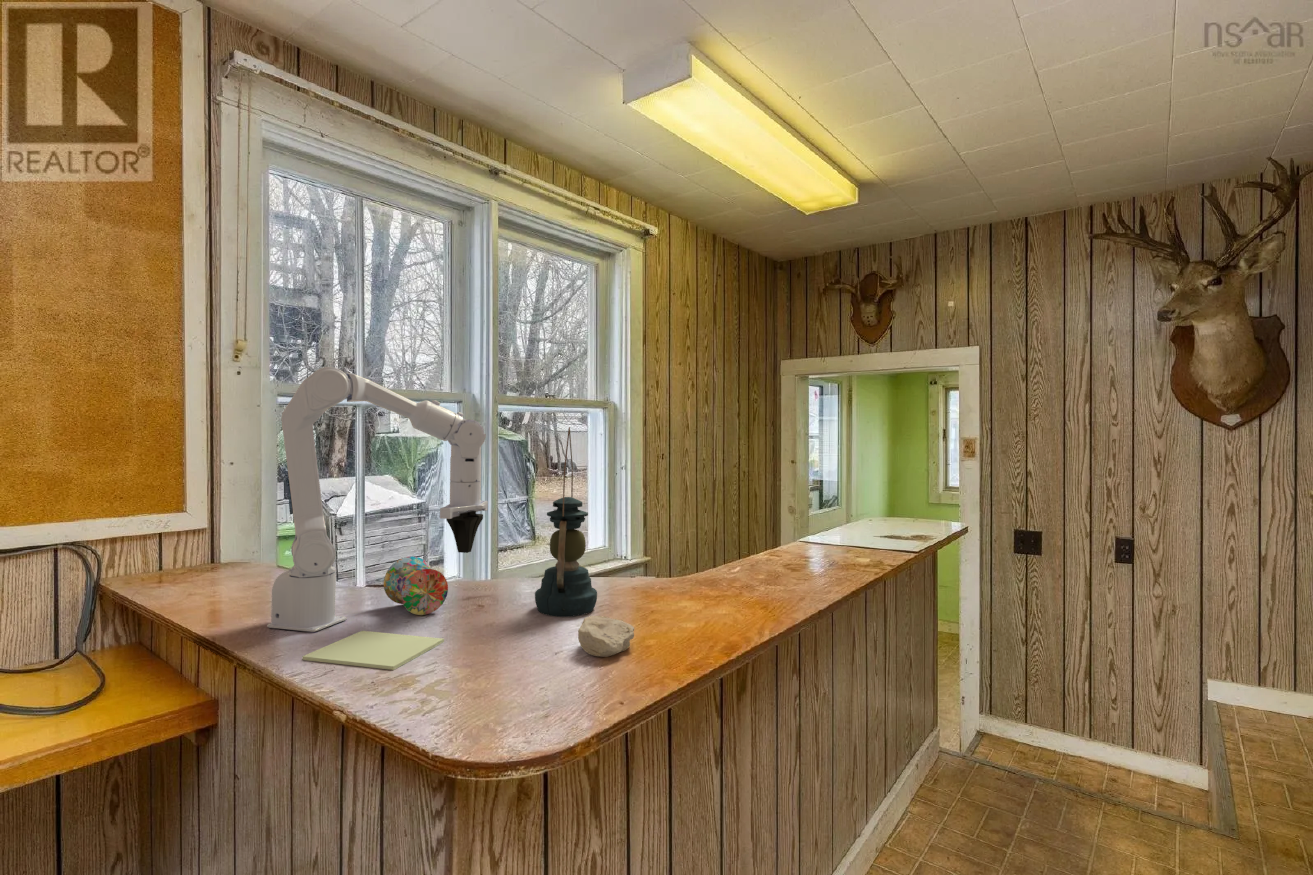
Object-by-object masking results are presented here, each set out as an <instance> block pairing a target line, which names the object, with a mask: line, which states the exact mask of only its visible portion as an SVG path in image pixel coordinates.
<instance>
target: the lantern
mask: <svg viewBox="0 0 1313 875" xmlns="http://www.w3.org/2000/svg"><path fill="white" fill-rule="evenodd" d="M566 439H567V441H566V449H565V458H564V466H563V467H564V468H563V482H562V483H563V486H562V490H563V491H562V497H560V498H559V499H556V500H554V501H553V502H552V507H553V508H556V509H554V510H551V511H548V512H546V516H548V517H549V521H550V523H553V527H554V528H555V529H557V530H556V531H554V532H553V533H552V534H551V536H550V540H549V551H550V555H551V556H552V557H553V558H554V559H555V560H557V562H556V563H555V565H554V566H551V567H548V568H546V569H545V570H544V575H543V577H542V579H541V584H540V587H539V588H537V590H535V592H534V602H535V606H536V608H537V612H539V613H540V614H542V615H546V616H550V617H560V618H561V617H562V618H564V617H566V618H567V617H569V618H570V617H578V616H583V615H587V614H589V613H591V612H593V610H594V609H595V606H596V604H597V602H598V601H597V599H598V591H597V589H596V588H594V587H593V585H592V578H591V576H590V574H589V569H588V568H586V567H583V566H580V563H579V562H578V560H579V559H581V558H582V557H583V556H584V554H585V552H586V548H587V547H586V537H585V534H584V533H583V531H581V530H578V529H579V528H581V526H582V523H584V522H585V521H586V517H588V516H589V512H587V511H584V510H581V509H579V508H581V507H583V501H581V500H579V499H577V498H574V497H573V495H574V490H573V485H574V484H573V483H574V481H573V479H574V471H573V470H574V469H573V468H574V466H573V451H572V440H571V439H572V438H571V427H570V426H569V427H568V429H567V438H566ZM568 448H569V449H570V464H571V466H570V467H571V486H570V487H571V492H570V493H571V494H570V495H571V496H565V494H566V493H565V488H566V486H565V485H566V484H565V483H566V468H567V465H566V464H567V460H568V458H567V456H568Z"/></svg>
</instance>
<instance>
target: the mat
mask: <svg viewBox="0 0 1313 875" xmlns="http://www.w3.org/2000/svg"><path fill="white" fill-rule="evenodd" d="M444 642H445V638H441V637H431V636H420V635H411V634H410V635H409V634H399V633H391V632H390V633H389V632H378V631H368V630H360V631H358V632H355V633H354V634H351V635H349V636H347V637H344V638H342V639H340V640H337V641H335V642H333V643H330V644H328V645H326V646H323V647H321V648H318V649H316V650H313V651H312V652H310V653H307V654H305V655H303V656H302V660H303V661H310V662H318V663H327V664H328V663H329V664H336V665H346V666H352V667H353V666H355V667H363V668H364V667H365V668H373V669H381V670H382V669H383V670H388V671H389V670H391V671H394V670H396V669H398V668H400V667H401V666H403V665H405V664H407V663H409V662H411V661H413V659H416V658H418V657H420V656H421V655H423V654H425V653H427V652H429V651H430V650H432V649H435V647H437V646H439V645H440V644H444Z"/></svg>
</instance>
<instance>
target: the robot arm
mask: <svg viewBox="0 0 1313 875" xmlns="http://www.w3.org/2000/svg"><path fill="white" fill-rule="evenodd" d="M344 400H346V402H347V403H353V402H354V403H355V402H368V403H370V404H373V405H375V406H377V407H379V408H383V409H384V410H387V411H391V412H392V413H395V414H397V415H400V416H402V417H405V418H408V420H409V421H410V424H411V426H412V428H413V429H416V430H417V431H420V432H422V433H424V434H427V435H429V436H431V437H434V438H436V439H438V440H441V441H443V442H448V443H449V444H450V459H449V460H450V461H449V467H450V468H449V469H450V470H449V504H447V505H445V506H443V507H440V508H439V519H444V520H445V519H446V522H447V523H448V526H450V530H451V532H452V534H453V537H454V540H455V545H456V550H457V552H458V553H464V554H466V553H467V554H468V553H470V552H472V549H473V545H474V541H475V538H476V534H477V531H478V529H479V527H480V524H481V522H482V521H483V520H484V514H483V513H478V512H483V511H484V512H486V511H488V507H489V506H488V504H489V501H488V500H482V499H481V496H482V495H481V494H482V493H481V492H482V487H481V486H482V446H483V444H484V442H486V437H487V434H486V433H485V430H484V427H483V426H482V424H481V423H480V422H479V421H478V420H476V419H471V418H464V413H463V412H460V411H458V412H457V413H456V412H455V411H452V410H450V409H448V408H445V407H443V406H442V405H441V402H439V401H438V400H435V399H434V400H433V399H432V400H431V401H429V400H427V399H425V400H422V401H420V402H416V401H413V400H412V399H409V398H407V397H405V396H403V395H401V394H398V393H397V392H394V391H392V390H391V389H389V388H386V387H385V386H383V385H380V384H378V383H376V382H374V381H372V380H370V379H367V378H364V377H363V376H360V375H357V374H355V373H350V372H346V373H345V372H344V371H343V370H341V369H339V368H337V367H334V366H325V367H321V368H319V369H316V370H315V371H314V372H313V373H311V374H310V375H309V376H308V377H306V378H305V379H304V380H303V381H302V382H301V384H300V385H299V386H298V388H297V390H296V391H295V393H294V394H293V395H292V398H291V399H290V401H289V402H288V404H287V405H286V406H285V408H284V410H283V412H282V414H281V426H282V428H281V429H282V434H283V441H284V450H285V458H286V465H287V467H286V468H287V475H288V481H289V489H290V498H291V506H292V513H293V514H292V516H293V522H294V532H295V533H294V535H295V536H294V539H293V542H292V544H291V548H290V549H291V550H290V552H291V555H292V562H293V566H292V567H291V568H290V569H288V571H284V572H282V573H280V574H279V575H278V576H277V577H276V578H275V580H274V582H273V584H272V588H271V612H270V613H271V615H270V617H271V622H270V623H268V624H267V625H266V626H267V628H270V629H281V630H291V631H299V632H309V633H310V632H312V633H315V632H317V631H321V630H323V629H326V628H328V627H330V626H333V625H336V624H338V623H342V622H343V621H346V620H347V619H348V618H347V616H342V615H336V584H337V582H336V579H337V576H336V575H337V568H336V567H335V566H332V565H333V564H334V562H335V560H336V555H337V553H336V548H335V547H334V546H335V545H334V544H333V543H332V542H331V539H330V537H328V533H327V527H326V522H325V516H324V508H323V500H322V491H321V484H320V477H319V476H320V475H319V469H318V468H319V467H318V459H317V450H316V444H315V436H314V427H313V426H314V424H315V423H316V422H317V421H318V420H319V418H321V417H322V415H323V414H324V413H325V412H326V411H328V409H330V408H332V407H334V406H337V405H338V404H340V403H341V402H343V401H344ZM440 405H441V406H440Z"/></svg>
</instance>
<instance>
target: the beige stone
mask: <svg viewBox="0 0 1313 875" xmlns="http://www.w3.org/2000/svg"><path fill="white" fill-rule="evenodd" d="M634 631H635V626H633V625H632V624H630V623H628V622H625V621H623V620H622V619H621V620H620V619H617V618H611V617H608V616H605V615H604V616H602V615H589V616H586V617H584V619H583V621H582V623H581V625H580V628H578V630H577V632H578V634H577V636H578V639H577V640H578V643H579V644H580V647H581V648H582V649H583V651H585V652H586V653H587V654H589V655H590V656H595V657H600V658H601V657H602V658H607V657H610V656H614V655H616V654H618V653H620V652H624V651H626V650H627V649H628V648H629V647H630V646H631V643H630V642H631V640H632V639H634V637H635V632H634Z"/></svg>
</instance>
